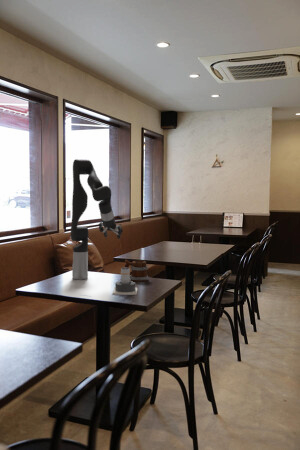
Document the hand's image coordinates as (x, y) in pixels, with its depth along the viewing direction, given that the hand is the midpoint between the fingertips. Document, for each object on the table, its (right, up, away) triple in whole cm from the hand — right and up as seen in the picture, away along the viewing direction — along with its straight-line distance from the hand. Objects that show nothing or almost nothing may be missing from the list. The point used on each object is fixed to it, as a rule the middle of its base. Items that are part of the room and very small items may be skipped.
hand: (112, 237), depth 251 cm
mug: (+14, -27, +9) cm, 32 cm away
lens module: (+9, -28, -22) cm, 37 cm away
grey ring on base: (+9, -29, -22) cm, 38 cm away
